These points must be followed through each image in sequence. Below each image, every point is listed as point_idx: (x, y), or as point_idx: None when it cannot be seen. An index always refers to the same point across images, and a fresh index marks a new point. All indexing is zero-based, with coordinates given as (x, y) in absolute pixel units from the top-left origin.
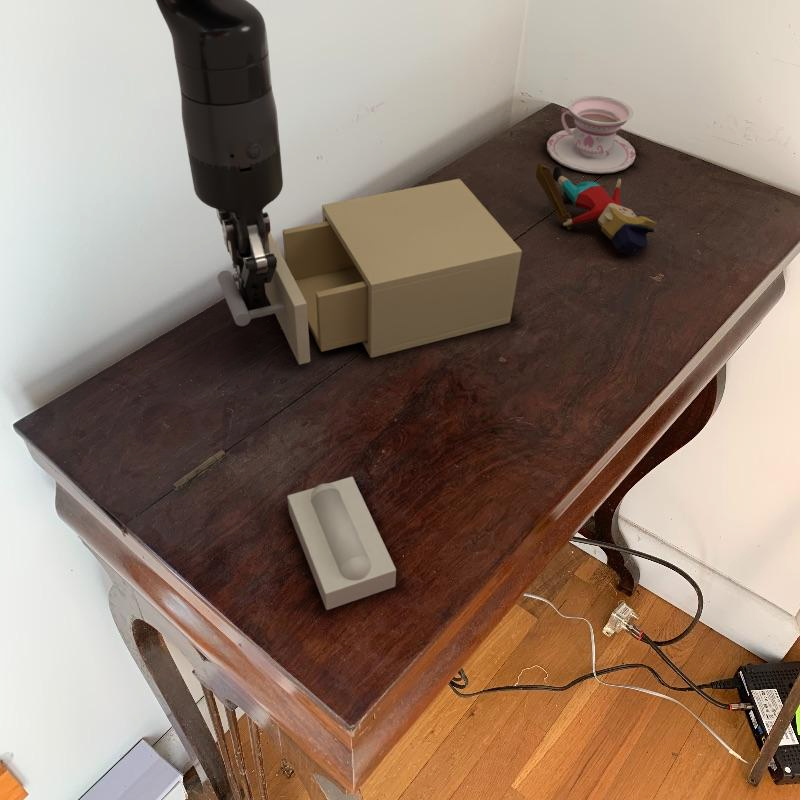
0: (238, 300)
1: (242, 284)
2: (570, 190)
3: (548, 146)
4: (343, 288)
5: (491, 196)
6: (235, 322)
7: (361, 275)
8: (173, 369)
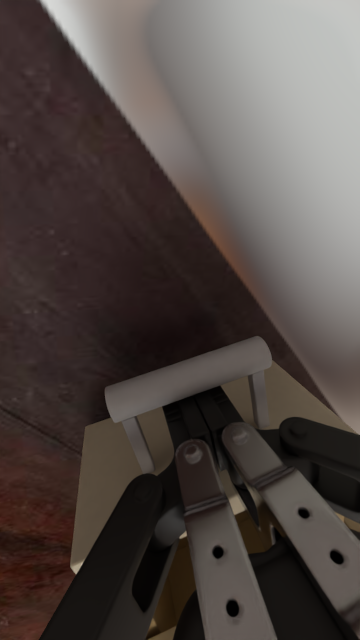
0: (161, 402)
1: (134, 487)
2: None
3: None
4: None
5: None
6: (105, 389)
7: (166, 631)
8: (96, 217)
